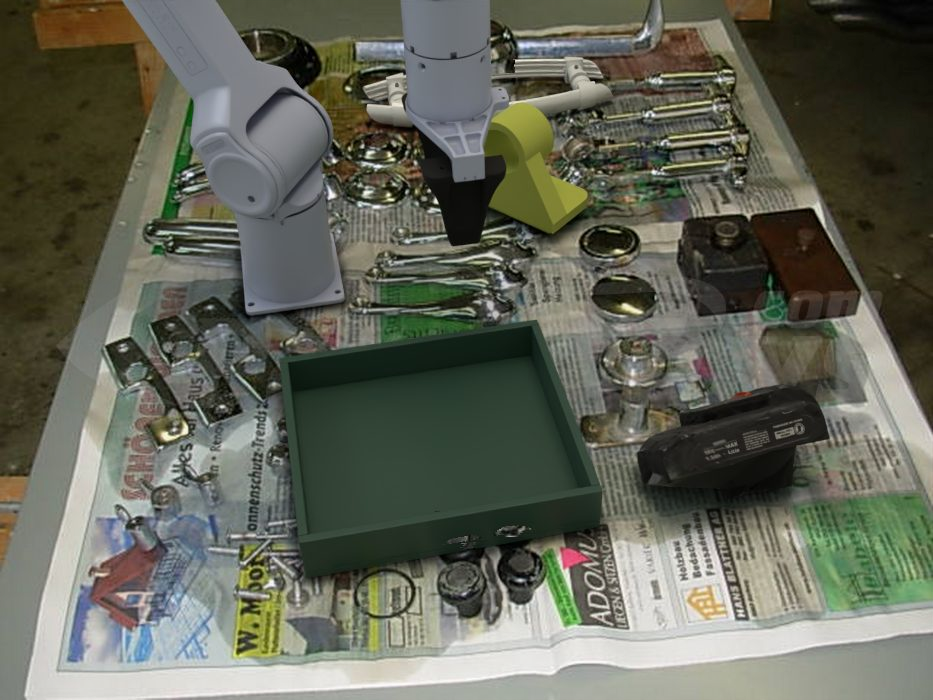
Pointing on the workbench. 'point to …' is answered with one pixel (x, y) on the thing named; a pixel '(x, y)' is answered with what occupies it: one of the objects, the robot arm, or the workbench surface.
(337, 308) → the workbench surface
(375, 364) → the parts tray
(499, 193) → the bracket
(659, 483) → the battery
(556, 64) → the door handle
